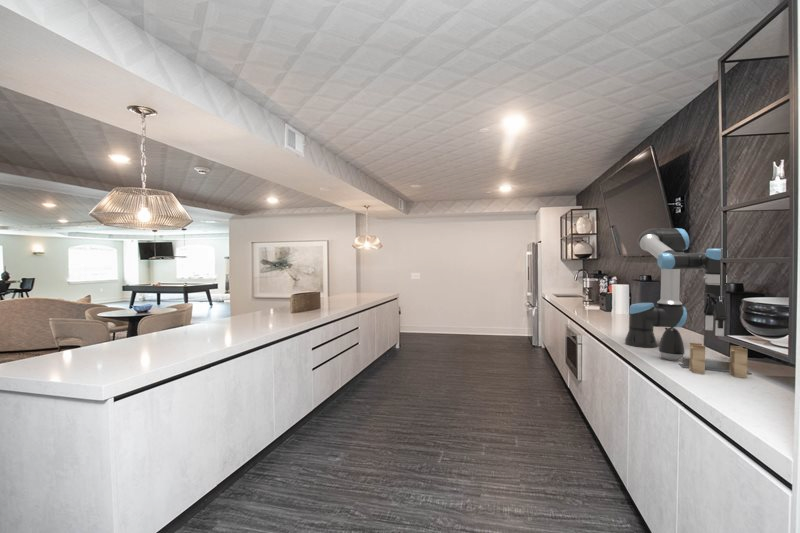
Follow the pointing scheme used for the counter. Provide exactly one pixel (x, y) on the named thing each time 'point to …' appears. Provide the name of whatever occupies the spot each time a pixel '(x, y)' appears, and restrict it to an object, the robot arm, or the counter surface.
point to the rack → (736, 360)
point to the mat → (710, 369)
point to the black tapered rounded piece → (671, 345)
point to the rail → (711, 363)
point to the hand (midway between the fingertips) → (714, 332)
